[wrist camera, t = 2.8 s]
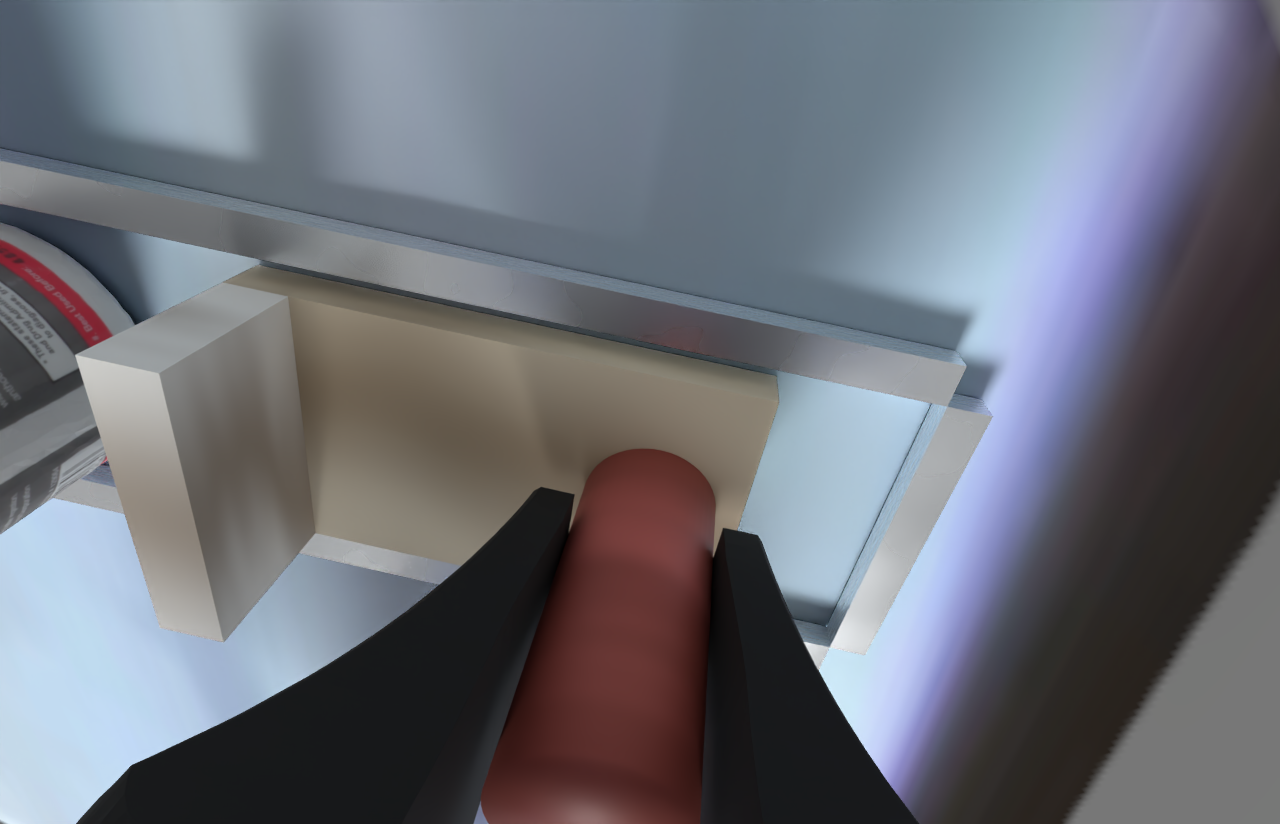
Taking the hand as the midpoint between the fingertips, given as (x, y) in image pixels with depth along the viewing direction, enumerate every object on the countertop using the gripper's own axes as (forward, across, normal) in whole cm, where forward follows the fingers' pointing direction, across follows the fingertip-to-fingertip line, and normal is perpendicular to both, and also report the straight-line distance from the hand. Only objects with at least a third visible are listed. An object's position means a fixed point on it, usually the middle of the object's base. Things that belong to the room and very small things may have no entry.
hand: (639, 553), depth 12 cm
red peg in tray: (+2, +3, 0) cm, 4 cm away
